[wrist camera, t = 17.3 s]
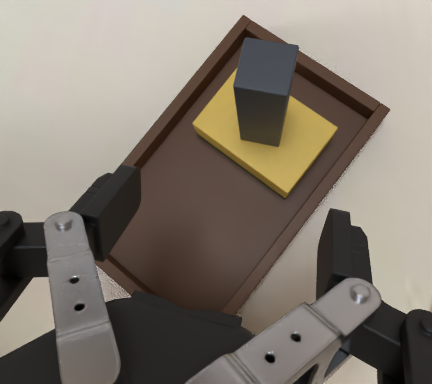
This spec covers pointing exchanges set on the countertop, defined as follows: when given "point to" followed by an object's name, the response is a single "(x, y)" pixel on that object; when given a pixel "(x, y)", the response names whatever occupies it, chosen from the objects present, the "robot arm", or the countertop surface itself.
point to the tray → (227, 189)
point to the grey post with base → (265, 118)
